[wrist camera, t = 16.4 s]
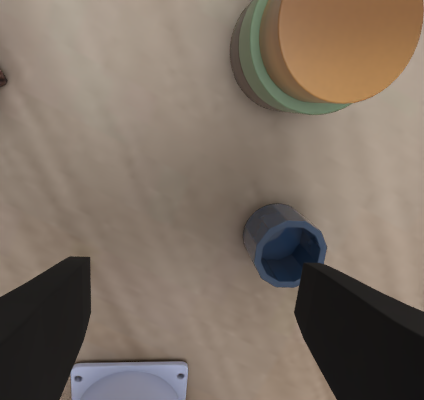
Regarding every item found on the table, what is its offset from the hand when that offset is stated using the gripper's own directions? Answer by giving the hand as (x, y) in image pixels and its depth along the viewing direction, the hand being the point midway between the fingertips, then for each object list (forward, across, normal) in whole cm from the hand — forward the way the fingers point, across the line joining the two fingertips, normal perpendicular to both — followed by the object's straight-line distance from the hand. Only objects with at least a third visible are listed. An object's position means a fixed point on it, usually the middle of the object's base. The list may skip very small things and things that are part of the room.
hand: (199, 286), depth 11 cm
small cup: (+10, -6, +2) cm, 12 cm away
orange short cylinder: (+5, -5, -9) cm, 11 cm away
